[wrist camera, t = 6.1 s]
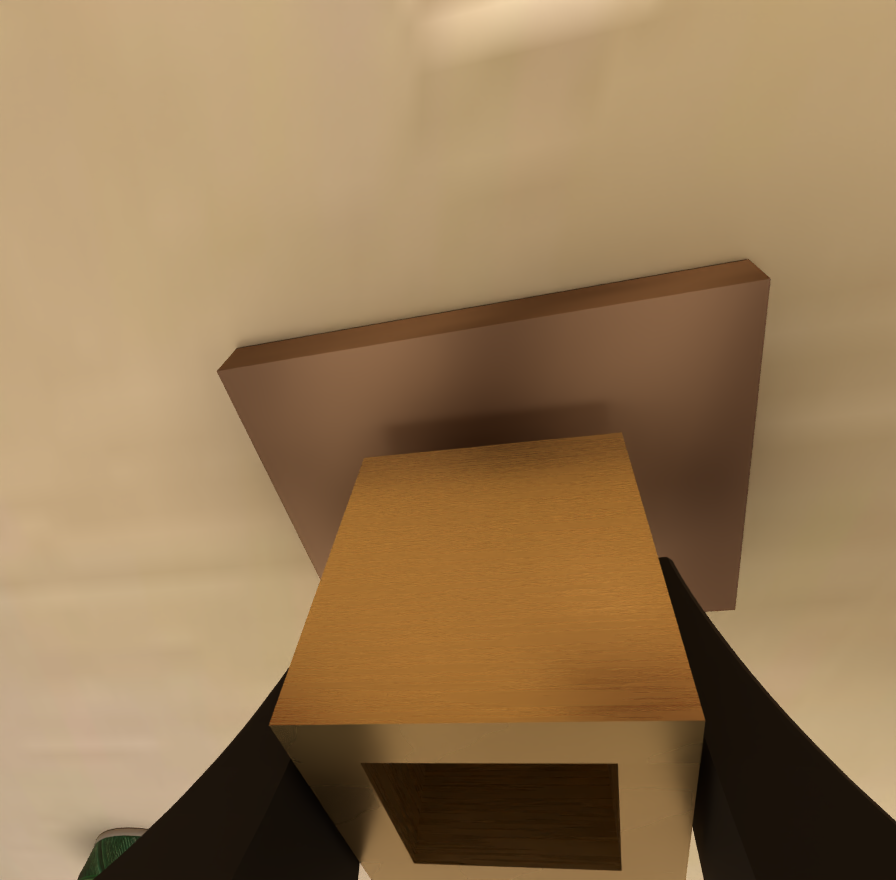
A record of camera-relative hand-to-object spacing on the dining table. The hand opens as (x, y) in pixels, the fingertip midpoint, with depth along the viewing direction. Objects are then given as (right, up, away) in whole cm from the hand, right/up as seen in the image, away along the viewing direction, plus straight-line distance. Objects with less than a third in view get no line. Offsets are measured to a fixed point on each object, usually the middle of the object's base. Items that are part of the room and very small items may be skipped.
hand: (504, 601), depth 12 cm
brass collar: (0, +1, +1) cm, 2 cm away
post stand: (0, +2, +4) cm, 4 cm away
